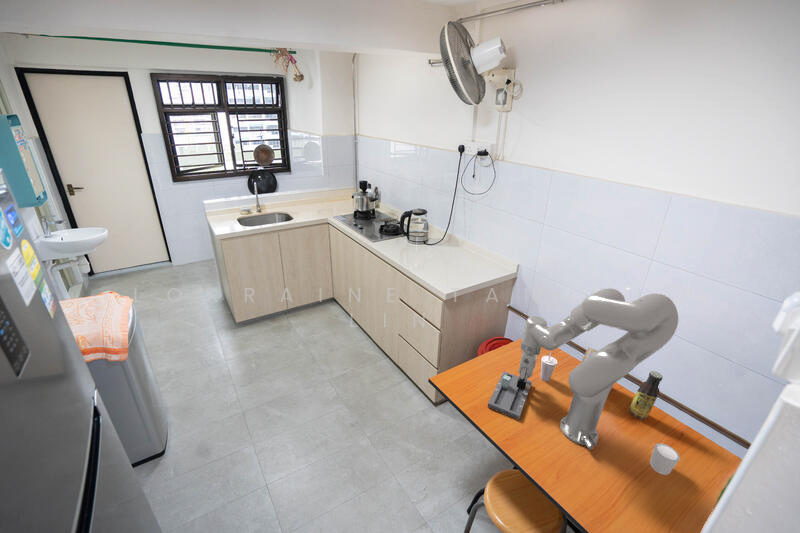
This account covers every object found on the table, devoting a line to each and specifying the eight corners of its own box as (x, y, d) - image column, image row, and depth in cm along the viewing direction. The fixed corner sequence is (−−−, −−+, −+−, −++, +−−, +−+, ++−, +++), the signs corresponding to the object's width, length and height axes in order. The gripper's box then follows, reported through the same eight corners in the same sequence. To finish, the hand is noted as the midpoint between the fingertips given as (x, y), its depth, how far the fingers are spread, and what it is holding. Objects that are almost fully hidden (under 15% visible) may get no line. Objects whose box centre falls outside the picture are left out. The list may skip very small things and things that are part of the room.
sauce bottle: (628, 416, 139) (645, 375, 131) (628, 406, 144) (643, 366, 136) (648, 423, 136) (666, 382, 128) (647, 412, 141) (664, 372, 133)
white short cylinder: (649, 454, 124) (655, 439, 121) (673, 466, 120) (680, 451, 117) (646, 467, 119) (653, 452, 116) (671, 481, 115) (679, 465, 112)
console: (518, 420, 135) (519, 415, 134) (487, 406, 140) (488, 402, 139) (531, 385, 152) (532, 381, 151) (503, 374, 158) (503, 370, 157)
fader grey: (524, 390, 147) (527, 376, 144) (517, 387, 149) (521, 373, 146) (525, 386, 149) (528, 372, 146) (519, 384, 151) (522, 370, 148)
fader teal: (507, 390, 147) (509, 380, 145) (500, 388, 148) (502, 378, 146) (508, 387, 149) (510, 377, 147) (502, 384, 150) (504, 374, 148)
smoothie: (533, 375, 158) (540, 349, 152) (544, 371, 161) (551, 345, 155) (544, 384, 153) (552, 358, 147) (556, 381, 155) (563, 354, 150)
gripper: (536, 362, 132) (527, 399, 139) (545, 338, 146) (536, 373, 153) (516, 354, 136) (508, 391, 143) (526, 332, 149) (518, 367, 157)
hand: (522, 381), depth 148 cm, fingers open, 7 cm apart
